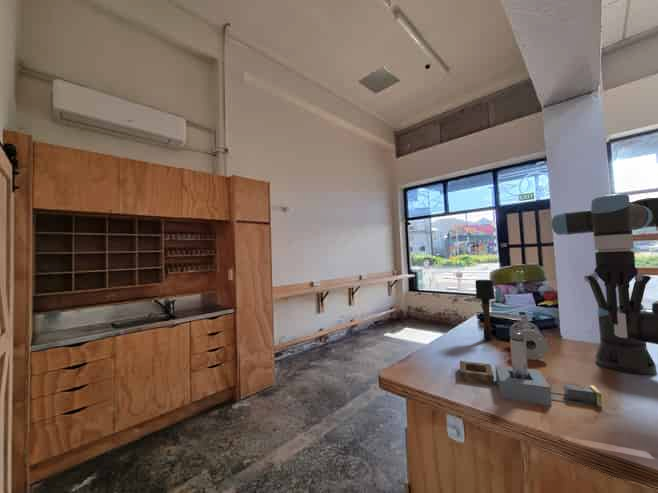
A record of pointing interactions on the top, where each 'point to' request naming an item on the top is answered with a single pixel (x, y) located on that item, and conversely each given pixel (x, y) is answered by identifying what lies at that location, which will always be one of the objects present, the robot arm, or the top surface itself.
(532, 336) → the valve
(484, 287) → the potato masher grenade
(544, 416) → the top surface
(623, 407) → the top surface
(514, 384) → the socket block
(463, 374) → the brown square frame
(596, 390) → the yellow capped grey block
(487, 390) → the top surface
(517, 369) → the peg
